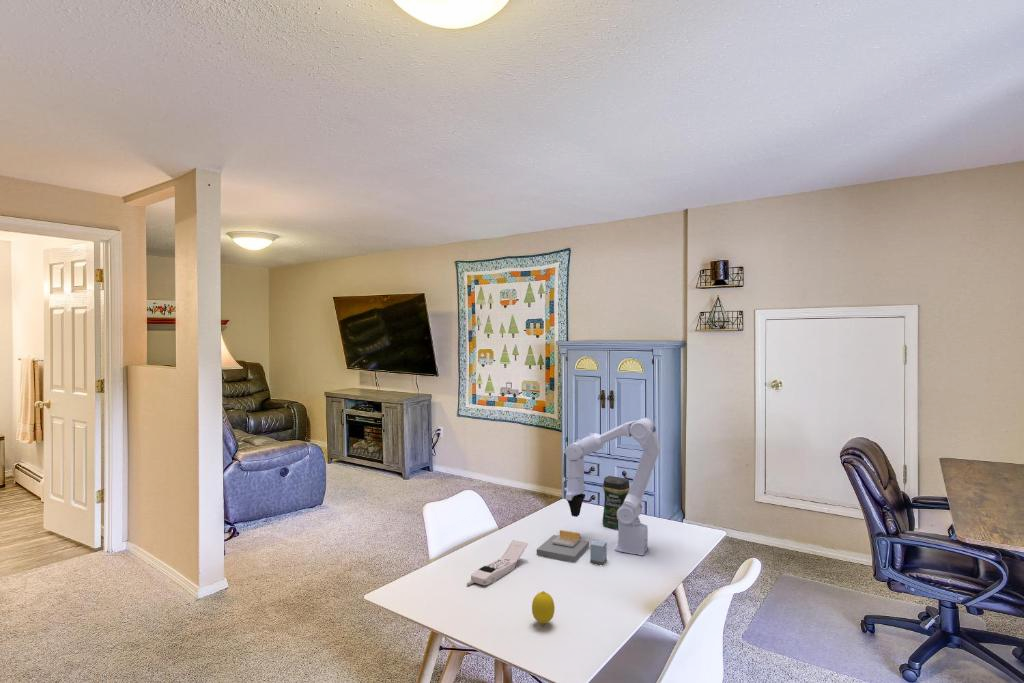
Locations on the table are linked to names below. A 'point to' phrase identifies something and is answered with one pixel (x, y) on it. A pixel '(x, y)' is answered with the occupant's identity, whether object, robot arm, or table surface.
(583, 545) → the socket near rim
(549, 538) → the socket far rim
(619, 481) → the coffee jar
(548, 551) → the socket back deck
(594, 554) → the plug
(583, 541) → the socket front rim
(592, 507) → the table surface
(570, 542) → the panel
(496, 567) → the mobile phone
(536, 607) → the lemon
